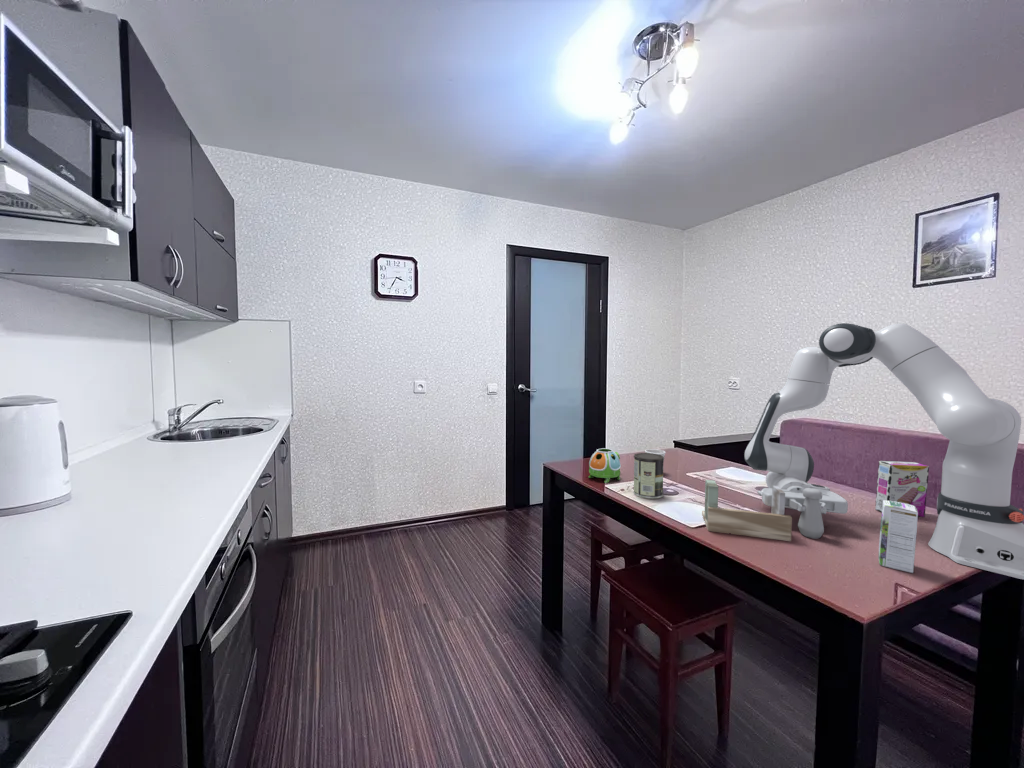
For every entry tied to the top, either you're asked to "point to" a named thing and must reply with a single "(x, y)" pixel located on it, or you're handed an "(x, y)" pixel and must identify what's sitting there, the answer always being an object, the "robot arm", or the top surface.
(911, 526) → the syrup box
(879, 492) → the candy bar box
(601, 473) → the turtle holder
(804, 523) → the salt shaker
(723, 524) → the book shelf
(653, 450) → the dixie cup
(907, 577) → the top surface
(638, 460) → the coffee can
